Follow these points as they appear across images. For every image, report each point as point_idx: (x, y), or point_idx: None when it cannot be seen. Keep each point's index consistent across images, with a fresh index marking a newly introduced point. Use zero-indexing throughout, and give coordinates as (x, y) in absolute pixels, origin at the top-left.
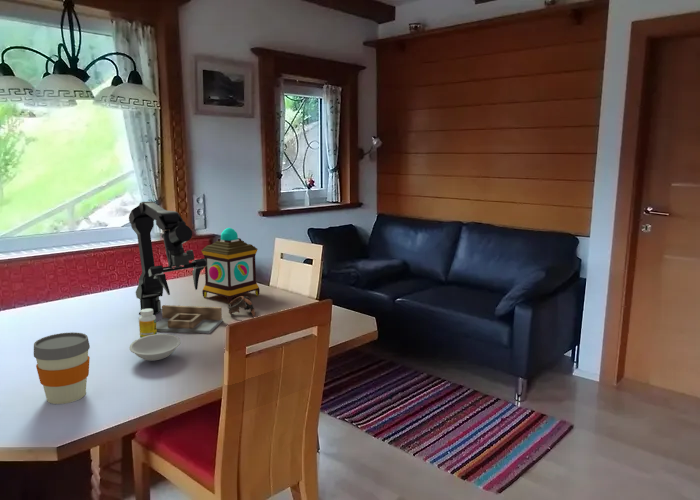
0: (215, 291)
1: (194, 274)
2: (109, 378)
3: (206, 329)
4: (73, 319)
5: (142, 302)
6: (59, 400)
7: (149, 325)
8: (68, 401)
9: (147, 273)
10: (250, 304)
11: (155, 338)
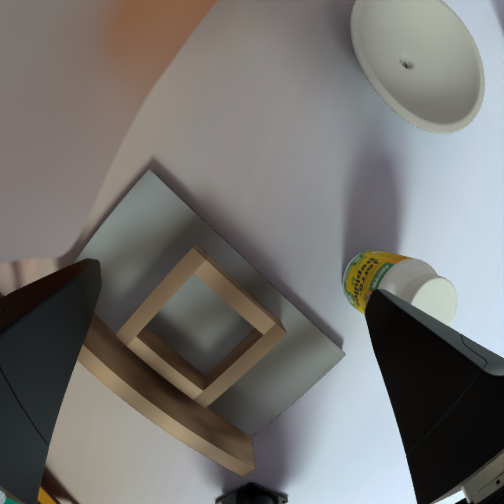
0: (41, 491)
1: (5, 395)
2: (486, 61)
3: (152, 193)
4: (412, 495)
5: None
6: None
7: (403, 256)
8: None
9: None
10: None
11: (413, 113)
